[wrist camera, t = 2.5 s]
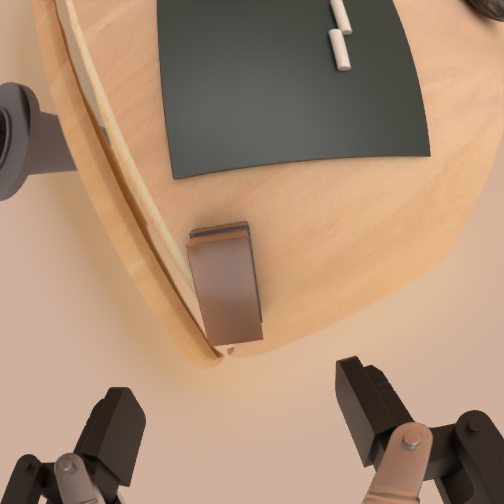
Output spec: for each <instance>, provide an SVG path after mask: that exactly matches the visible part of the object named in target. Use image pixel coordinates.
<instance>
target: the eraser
mask: <svg viewBox="0 0 504 504" xmlns="http://www.w3.org/2000/svg"><path fill="white" fill-rule="evenodd" d="M189 235H190V241H189V242H188V244H187V246H186V248H187V253H188V258H189V263H190V267H191V272H192V276H193V281H194V285H195V289H196V294H197V298H198V302H199V306H200V310H201V314H202V318H203V322H204V326H205V330H206V334H207V338H208V341H209V345H210V346H219V345H228V344H235V343H243V342H250V341H257V340H263V334H262V327H261V323H262V316H261V309H260V302H259V295H258V288H257V281H256V274H255V267H254V260H253V253H252V246H251V239H250V232H249V225H248V222H241V223H234V224H228V225H221V226H215V227H209V228H202V229H196V230H192V231H191V233H190V234H189Z"/></svg>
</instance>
